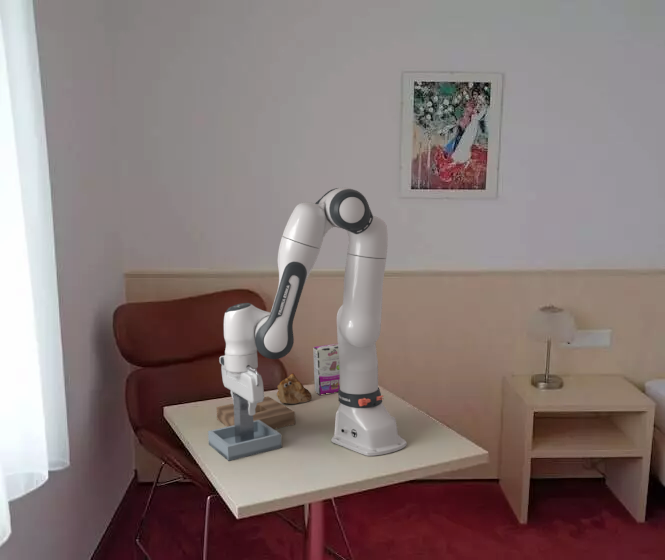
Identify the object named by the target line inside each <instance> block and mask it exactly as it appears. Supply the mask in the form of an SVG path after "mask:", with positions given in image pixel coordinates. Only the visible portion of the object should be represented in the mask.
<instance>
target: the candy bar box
mask: <svg viewBox="0 0 665 560" xmlns="http://www.w3.org/2000/svg"><path fill="white" fill-rule="evenodd" d="M312 349H313V351H312V353H313V354H312V355H313V374H314V377H313V379H314V392H315V391H316V392H317V393H318V395H319V396H322V395H321V394H325V395H327V394H326V393H331V394H335V393H334V392H337V393H338V390H339V388H340V370H339V352H338V343H332V344H326V345H325V344H324V345H319V346H318V345H317V346H312ZM316 392H315V393H316ZM317 393H316V394H317Z"/></svg>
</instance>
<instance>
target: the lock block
mask: <svg viewBox="0 0 665 560" xmlns="http://www.w3.org/2000/svg"><path fill="white" fill-rule="evenodd" d="M295 413H296V412H295V411H294V410H293V409H291V408H289V407H287V406H286V405H284V404H283V403H281V402H280V401H277V400H275V399H274V398H272V397H270V396H264V400H263V401H262V402H259V403H257V405H256V408H255V415H253V421H255V420H260V421H262V422H263V423H265V424H266V425H268V426H269V427H271V428H272V429H274V430H277V429H281V428H285V427H288V426H289V427H290V426H293V425H296V418H295V417H296V416H295V415H296V414H295ZM216 419H217V420H218V421H219V423H221V424H223V425H224V426H225V427H229V426H233V425H235V424H234V405H233V403H229V404H224V405H219V406H216Z"/></svg>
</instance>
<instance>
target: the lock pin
mask: <svg viewBox="0 0 665 560" xmlns="http://www.w3.org/2000/svg"><path fill="white" fill-rule="evenodd" d="M233 402H234V424H235V442H236V443H240V442H244V441H248V440H252V439H254V425H253V415H252V416H250V415H249V414H247V408H248V407H249V404H248V401H247V400H246V399H244V398H243V397H241V396H239V395H238V394H233V398H232V403H233Z"/></svg>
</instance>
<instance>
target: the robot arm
mask: <svg viewBox="0 0 665 560" xmlns="http://www.w3.org/2000/svg"><path fill="white" fill-rule="evenodd" d="M333 228H338V229H342V230H345V231H346V232H347V235H348V246H347V253H346V259H345V260H346V262H345V267H344V268H345V269H344V276H343V293H342V295H343V296H342V304H341V305H340V307H339V308H338V310H337V314H336V335H337V344H338V352H339V370H340V388H339V390H338V392H337V398H338V399H337V400H338V402H339V405H338V407H337V411H336V413H335V419H334V421H335V422H334V423H335V424H334V434H333V436H332V437H331V442H332V443H333V444H335V445H338V446H341V447H343V448H346V449H348V450H351V451H353V452H356V453H359V454H361V455H364V456H367V457H368V456H369V457H373V456H382V455H386V454H387V455H388V454H391V453H394V452H397V451H400V450H401V449H404V448H405V447H407V445H408V444H407V441H406V440H405V439H404V438H403V437H401V436H400V435H399V433H398V432H399V431H398V425H397V420H396V417H395V416H392V415H391V414H390V413H389V411H388V410H387V408H386V407H385V405H384V404H383V400H384V396H385V395H382V392H381V389H380V387H379V360H378V355H377V353H378V352H377V343H376V342H377V341H378V340H379V338H380V336H381V327H382V325H381V324H382V314H383V313H382V312H383V310H382V309H383V290H384V289H383V288H384V279H385V278H384V277H385V273H386V271H385V270H386V266H387V265H386V262H387V256H388V255H387V254H388V245H389V244H388V242H389V241H388V226H387V223H386V222H385V220H383V219H382V218H381V217H379V216H375V215H373V212H372V211H371V208H370V204H369V202H368V200H367V199H366V196H364V194H363V193H361V192H360V191H359V190H356V189H353V188H350V187H338V188H337V187H336V188H333V189H330V190H329V191H327V192H325V194H323V195H322V196H321V197H320V198H319V199H318V200H317V201H316V202H308V201H307V202H306V201H305V202H300V203H298V204H297V205H296V206H295V207H294V209H293V211H292V212H291V214H290V216H289V218H288V220H287V223H286V225H285V227H284V230H283V232H282V233H283V234H282V235H281V239H280V242H279V247H278V251H277V267H278V268H277V269H278V286H277V291H276V294H275V297H274V301H273V304H272V308H271V310H270V311H266V310H262V309H261V308H258V307H256V306H255V305H254V304H252V303H250V302H243V303H238V304H234V305H232V306H230V307H228V308H227V309H226V311H225V312H224V316H223V338H224V342H225V348H224V349H225V350H224V355H221V356H220V357H219V364H220V365H221V367H220V368H221V377H222V384H223V386H224V388H226V389H228V390H230V396H231V398H232V399H233V394H238V395H239V396H241V397H243V398H244V399H246V400H247V401H248V404H249V407H248V408H247V414H249V415H250V416H252V415H255V408H256V405H257V403H259V402H262V401H263V400H264V397H265V390H264V381H263V378H262V375H261V374H260V373H259V372H258V370H257V369H258V368H259V367H258V366H259V365H258V364H259V363H258V353H259V355H261V356H263V357H264V358H266V359H270V360H279V359H282V358H284V357H286V355H288V354H290V352H291V350H292V349H293V347H294V341H295V336H294V330H293V323H294V320H295V319H294V318H295V315H296V313H297V308H298V305H299V302H300V300H301V295H302V293H303V289H304V287H305V284H306V283H307V280H308V278H309V276H310V274H311V272H312V269H313V268H314V266H315V263H316V261H317V259H318V256H319V254H320V251H321V249H322V244H323V241H324V238H325V236H327V235H326V234H327V233H328V232H329V231H330V230H331V229H333ZM232 404H233V405H234V402H233V401H232Z"/></svg>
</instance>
